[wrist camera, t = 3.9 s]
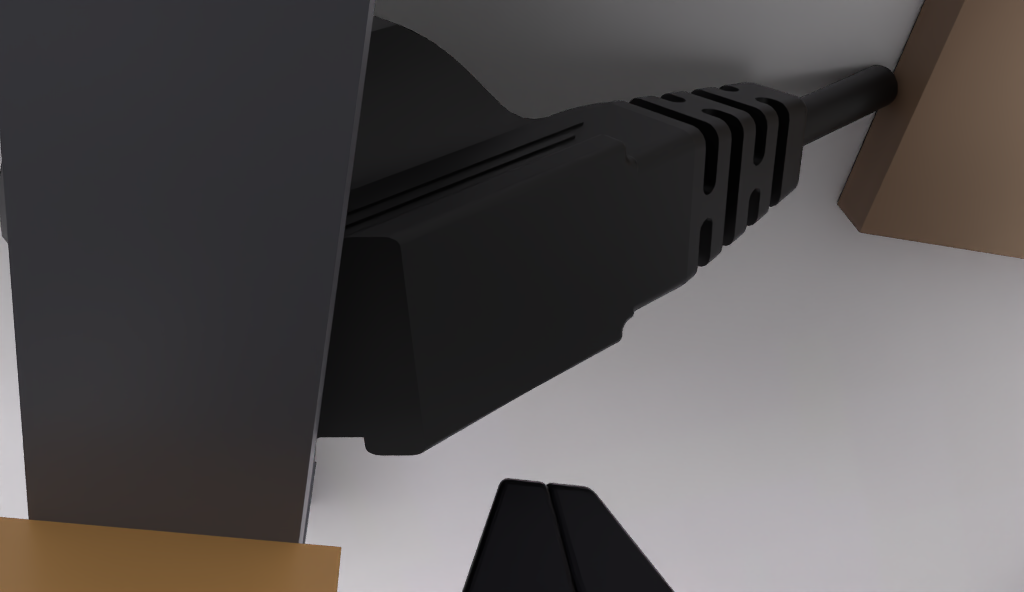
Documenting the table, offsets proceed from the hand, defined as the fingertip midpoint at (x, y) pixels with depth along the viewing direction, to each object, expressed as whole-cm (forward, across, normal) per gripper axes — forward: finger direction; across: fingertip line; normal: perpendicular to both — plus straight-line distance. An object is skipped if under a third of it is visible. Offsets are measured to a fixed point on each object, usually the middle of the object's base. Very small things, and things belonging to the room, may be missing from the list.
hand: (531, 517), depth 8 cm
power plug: (+8, 0, -1) cm, 9 cm away
